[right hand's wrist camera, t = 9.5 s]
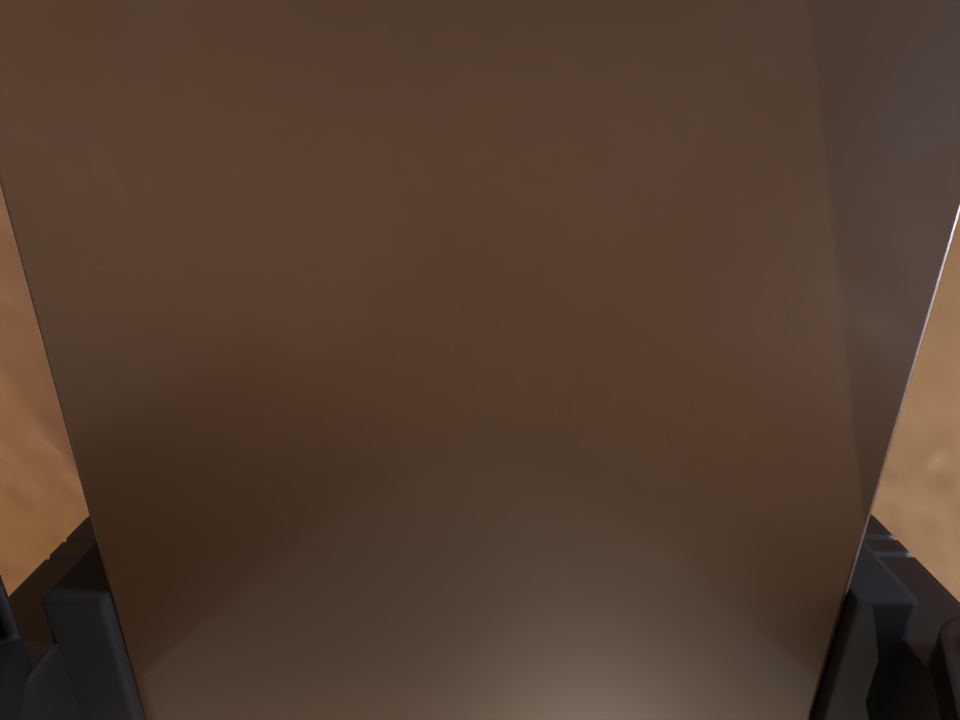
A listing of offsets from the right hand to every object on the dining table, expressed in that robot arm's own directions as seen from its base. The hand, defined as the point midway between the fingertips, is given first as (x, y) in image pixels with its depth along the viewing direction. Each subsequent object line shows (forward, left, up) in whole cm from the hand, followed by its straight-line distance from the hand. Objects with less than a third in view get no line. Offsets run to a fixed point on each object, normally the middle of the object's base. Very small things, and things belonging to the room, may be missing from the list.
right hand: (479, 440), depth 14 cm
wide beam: (-3, -28, 0) cm, 28 cm away
